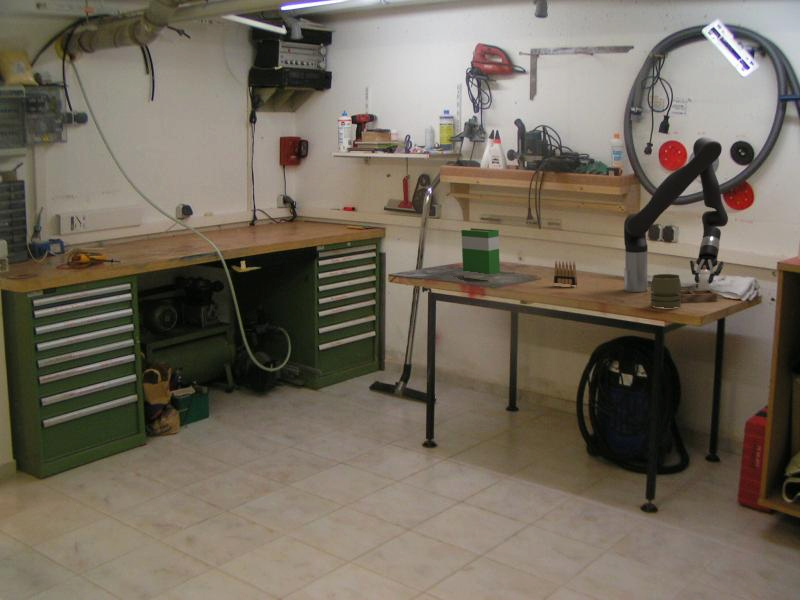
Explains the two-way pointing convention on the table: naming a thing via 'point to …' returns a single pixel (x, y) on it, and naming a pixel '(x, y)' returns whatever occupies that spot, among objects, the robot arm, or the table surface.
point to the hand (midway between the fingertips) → (703, 282)
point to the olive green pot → (666, 291)
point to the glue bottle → (703, 279)
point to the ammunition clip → (565, 273)
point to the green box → (480, 251)
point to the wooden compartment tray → (698, 296)
